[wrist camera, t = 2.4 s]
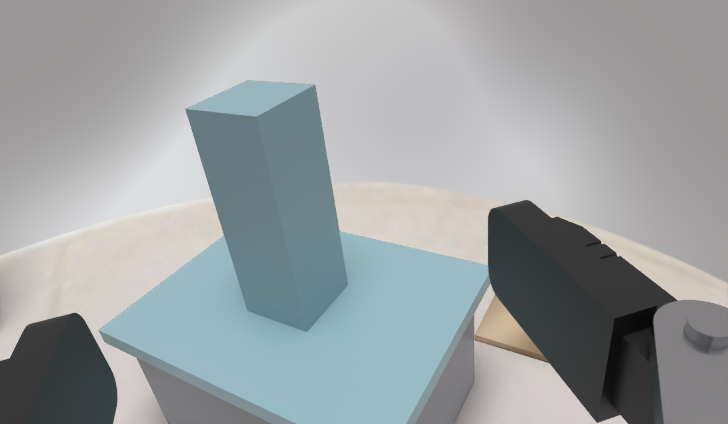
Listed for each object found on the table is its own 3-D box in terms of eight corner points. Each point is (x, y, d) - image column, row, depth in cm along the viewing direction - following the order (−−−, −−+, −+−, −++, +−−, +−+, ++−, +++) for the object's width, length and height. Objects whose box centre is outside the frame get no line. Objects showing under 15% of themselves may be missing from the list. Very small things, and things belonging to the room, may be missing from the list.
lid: (104, 342, 24) (-5, 133, 19) (258, 222, 32) (213, 52, 27) (385, 479, 17) (342, 200, 11) (492, 279, 25) (497, 61, 19)
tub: (170, 427, 28) (126, 336, 24) (281, 313, 35) (259, 230, 31) (393, 553, 21) (377, 453, 18) (474, 380, 28) (474, 284, 25)
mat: (474, 339, 31) (474, 334, 31) (511, 265, 37) (512, 261, 36) (659, 396, 26) (661, 391, 26) (668, 301, 32) (670, 296, 32)
